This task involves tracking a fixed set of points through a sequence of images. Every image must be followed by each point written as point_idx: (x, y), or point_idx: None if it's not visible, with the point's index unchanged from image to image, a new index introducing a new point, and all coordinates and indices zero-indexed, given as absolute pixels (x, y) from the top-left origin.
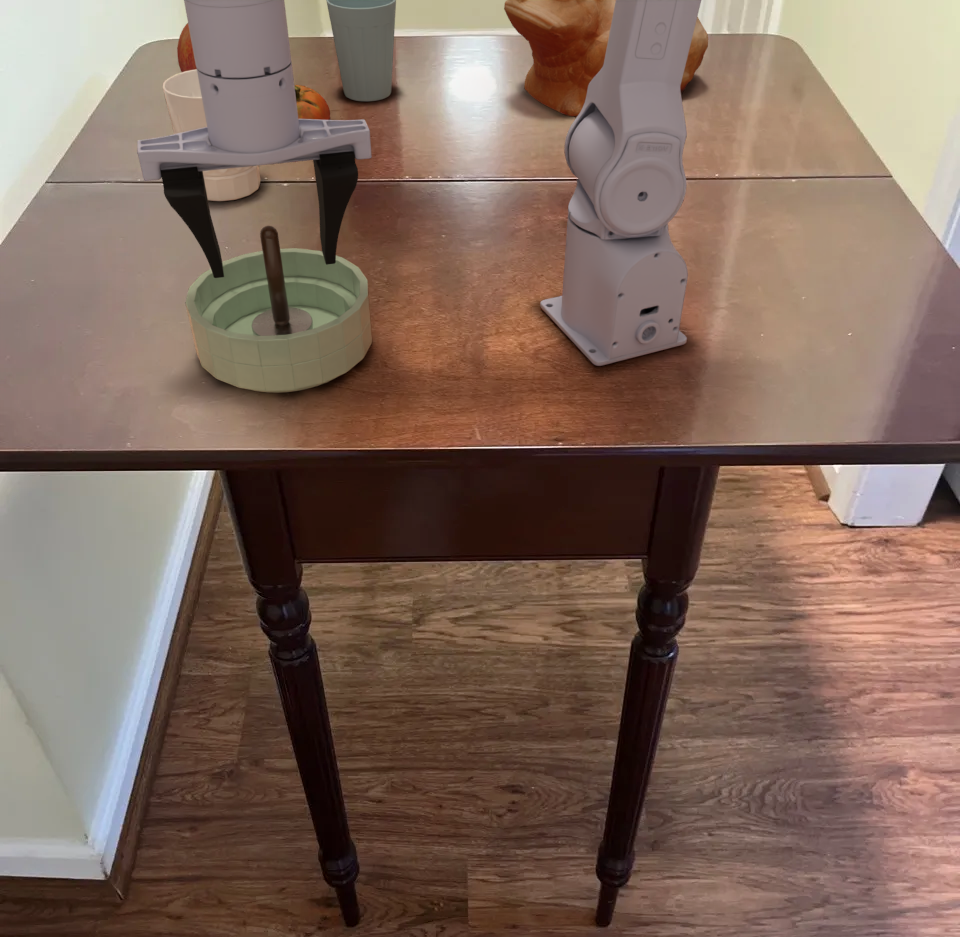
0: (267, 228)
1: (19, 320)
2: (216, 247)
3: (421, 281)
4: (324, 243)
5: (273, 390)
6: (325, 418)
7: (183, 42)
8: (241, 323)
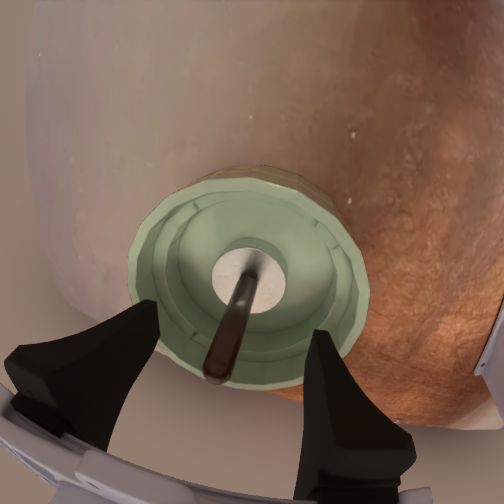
0: (212, 382)
1: (30, 125)
2: (138, 373)
3: (454, 182)
4: (305, 386)
5: None
6: None
7: None
8: (208, 214)
